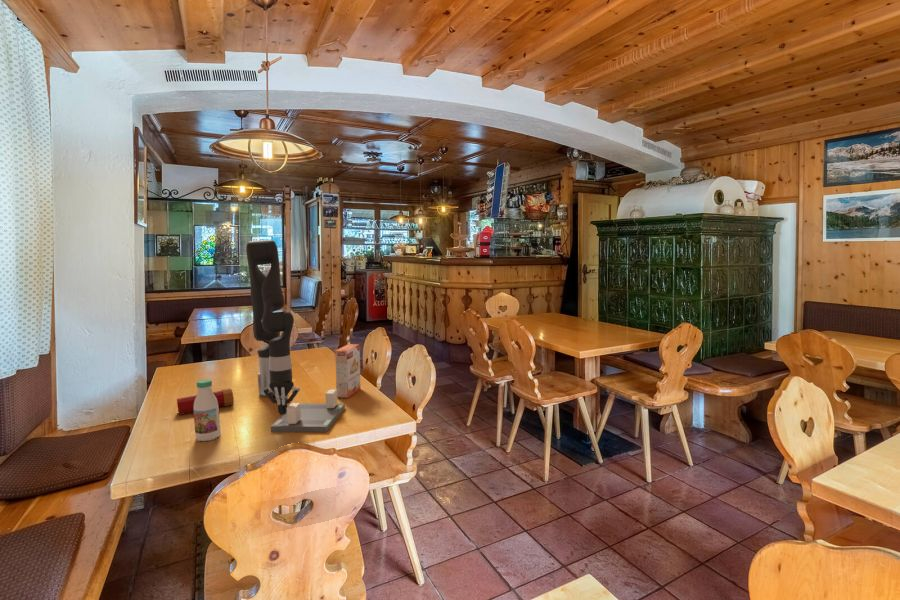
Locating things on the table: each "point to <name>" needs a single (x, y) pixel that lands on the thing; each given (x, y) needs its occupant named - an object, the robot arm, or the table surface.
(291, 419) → the beige rectangular block
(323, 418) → the breaker panel
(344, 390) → the cracker box
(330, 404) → the handle
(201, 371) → the table surface
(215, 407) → the milk bottle
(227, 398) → the red tube
